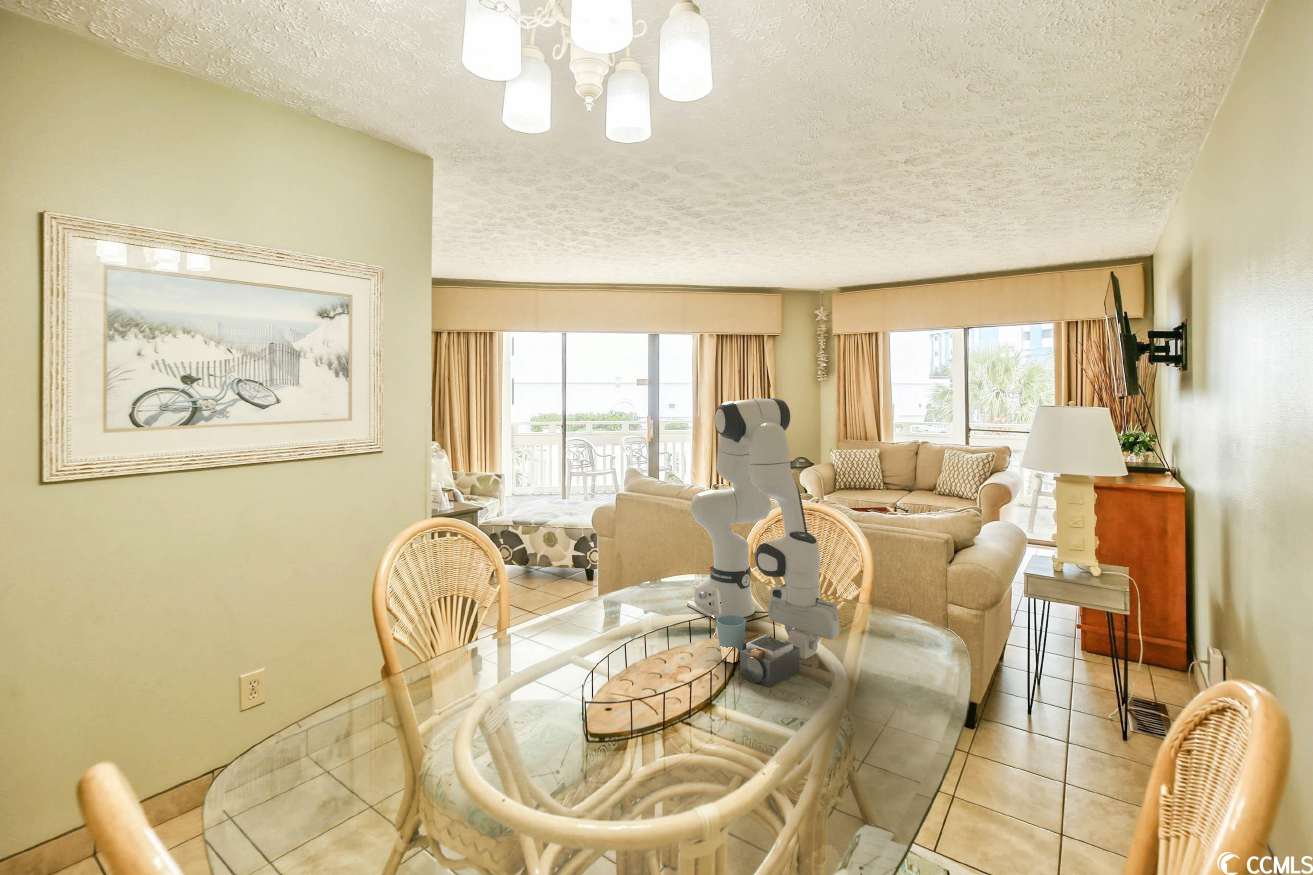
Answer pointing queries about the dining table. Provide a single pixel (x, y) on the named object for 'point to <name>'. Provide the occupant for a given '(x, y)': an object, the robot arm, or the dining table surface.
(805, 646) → the pump block
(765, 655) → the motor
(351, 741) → the dining table surface
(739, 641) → the cup
